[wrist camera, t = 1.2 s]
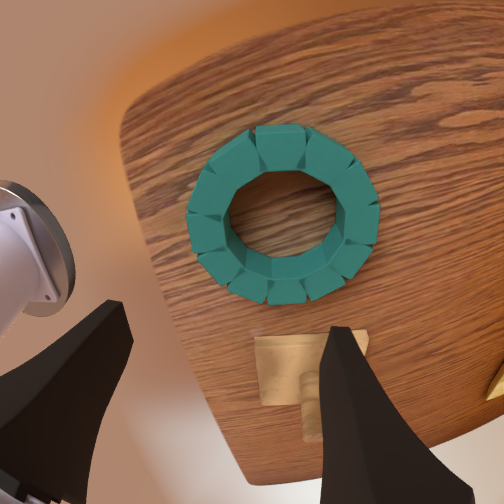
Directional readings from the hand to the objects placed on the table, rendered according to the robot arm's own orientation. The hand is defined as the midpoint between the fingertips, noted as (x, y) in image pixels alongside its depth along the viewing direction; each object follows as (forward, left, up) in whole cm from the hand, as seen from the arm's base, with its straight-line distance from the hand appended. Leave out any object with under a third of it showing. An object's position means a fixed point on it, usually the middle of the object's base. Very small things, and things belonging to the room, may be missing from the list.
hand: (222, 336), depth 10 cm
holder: (+4, -15, -10) cm, 19 cm away
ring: (+2, 0, -10) cm, 10 cm away
